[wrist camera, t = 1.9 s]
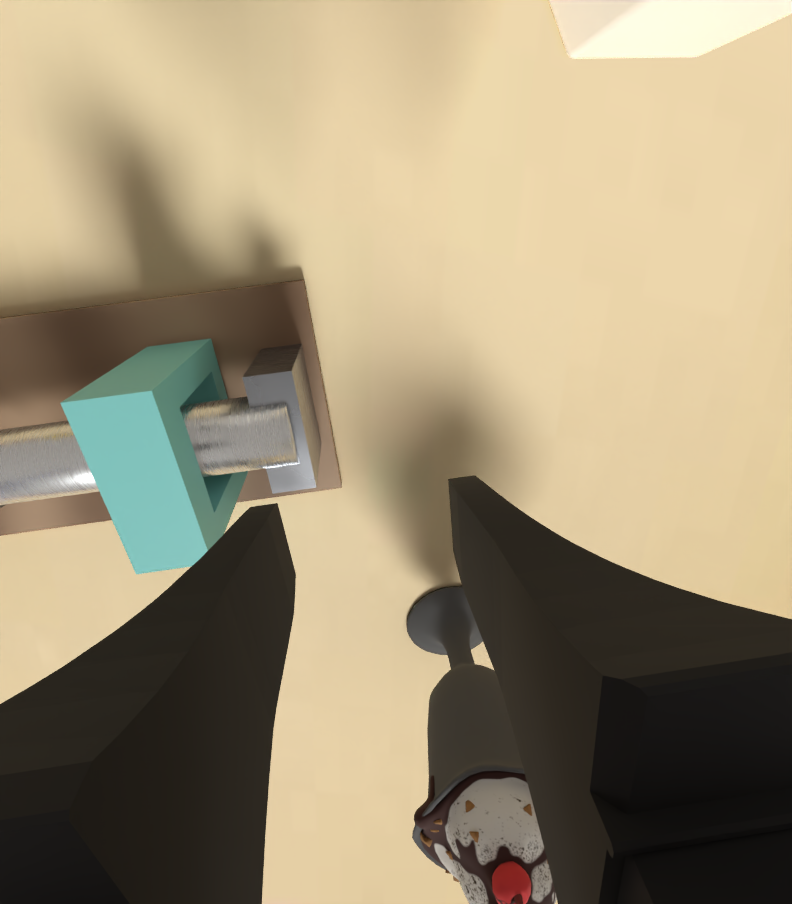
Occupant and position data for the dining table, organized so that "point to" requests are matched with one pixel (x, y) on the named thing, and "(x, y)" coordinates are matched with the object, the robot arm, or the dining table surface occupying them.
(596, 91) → the dining table surface
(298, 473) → the metal rail stand
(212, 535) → the collar
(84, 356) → the base board
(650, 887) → the robot arm
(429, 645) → the sundae
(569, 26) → the jar
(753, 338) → the dining table surface
